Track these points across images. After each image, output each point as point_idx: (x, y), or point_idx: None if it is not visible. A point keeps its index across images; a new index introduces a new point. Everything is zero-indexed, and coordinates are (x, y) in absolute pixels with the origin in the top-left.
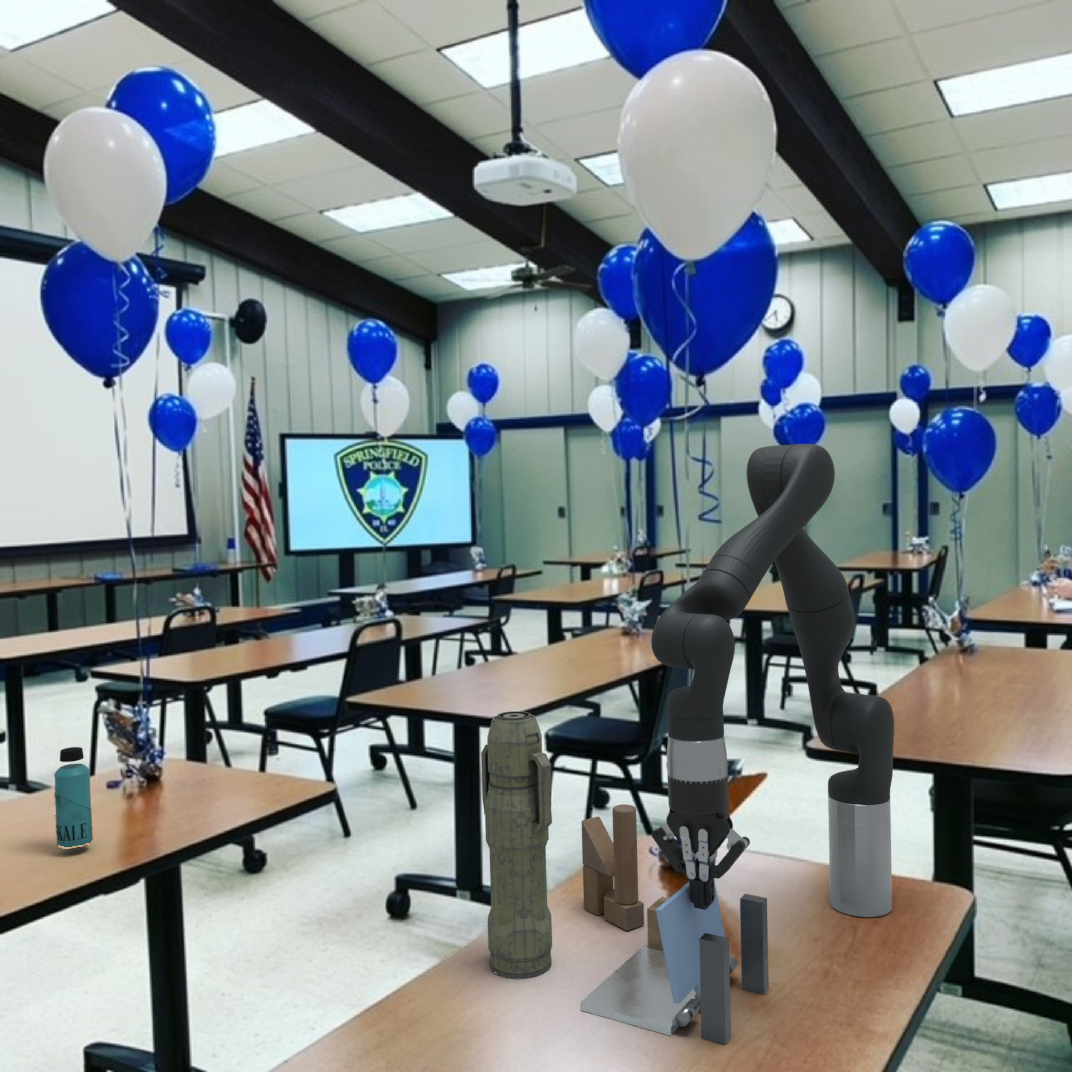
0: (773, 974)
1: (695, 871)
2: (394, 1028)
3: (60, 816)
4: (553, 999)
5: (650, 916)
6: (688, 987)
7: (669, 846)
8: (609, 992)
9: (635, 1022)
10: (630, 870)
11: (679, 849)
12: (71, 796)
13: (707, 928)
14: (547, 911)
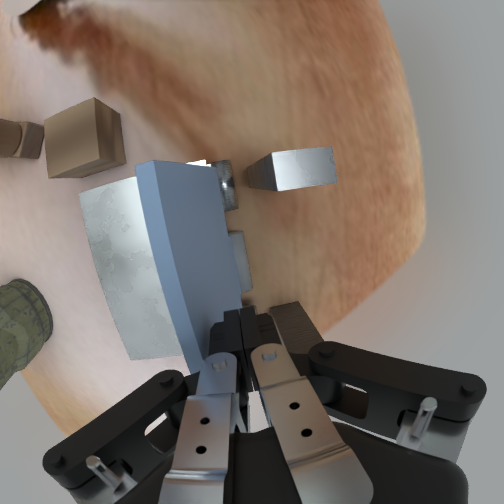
0: (263, 120)
1: (249, 413)
2: (77, 430)
3: None
4: (98, 352)
5: (59, 176)
6: None
7: (148, 473)
8: (134, 326)
9: None
10: None
11: (146, 425)
12: None
13: (214, 245)
14: (5, 327)
